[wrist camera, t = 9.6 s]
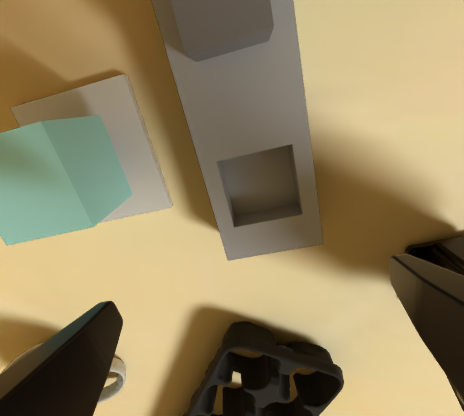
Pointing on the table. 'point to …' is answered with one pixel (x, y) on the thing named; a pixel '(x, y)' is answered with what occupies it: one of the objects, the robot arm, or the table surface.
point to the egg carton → (267, 377)
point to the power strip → (246, 118)
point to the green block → (58, 178)
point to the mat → (111, 137)
